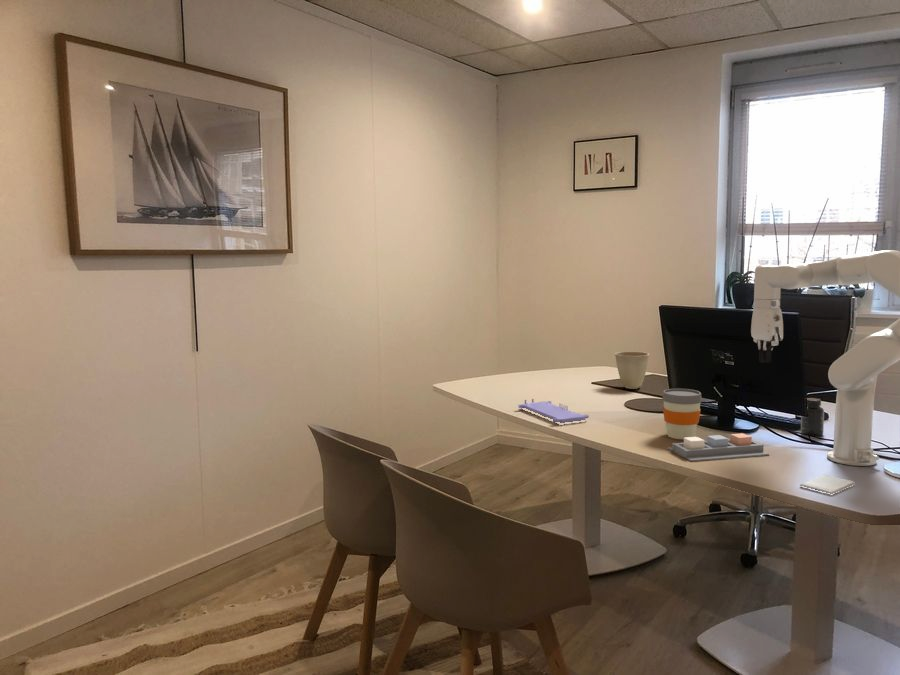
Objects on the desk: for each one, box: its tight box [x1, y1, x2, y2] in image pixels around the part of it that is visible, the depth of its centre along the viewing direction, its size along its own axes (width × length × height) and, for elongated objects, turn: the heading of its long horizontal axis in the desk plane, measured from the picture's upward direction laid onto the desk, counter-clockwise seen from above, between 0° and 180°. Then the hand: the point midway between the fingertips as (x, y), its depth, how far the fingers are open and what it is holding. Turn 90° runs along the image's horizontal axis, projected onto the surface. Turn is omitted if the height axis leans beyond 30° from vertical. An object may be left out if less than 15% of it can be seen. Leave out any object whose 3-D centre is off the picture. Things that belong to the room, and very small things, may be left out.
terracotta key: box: [729, 432, 753, 446], centre depth 216 cm, size 4×4×3 cm
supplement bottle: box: [800, 397, 825, 437], centre depth 233 cm, size 7×7×12 cm
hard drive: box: [799, 474, 855, 494], centre depth 183 cm, size 2×8×12 cm
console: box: [666, 438, 770, 462], centre depth 215 cm, size 14×26×2 cm, turn 101°
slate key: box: [706, 434, 729, 447], centre depth 214 cm, size 4×4×3 cm
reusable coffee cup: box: [662, 388, 702, 440], centre depth 233 cm, size 13×13×15 cm
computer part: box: [518, 398, 590, 423], centre depth 266 cm, size 30×4×15 cm
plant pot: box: [614, 351, 650, 387], centre depth 314 cm, size 15×15×16 cm
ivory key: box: [683, 436, 706, 449], centre depth 213 cm, size 4×4×3 cm
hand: (765, 362), depth 219 cm, fingers closed
